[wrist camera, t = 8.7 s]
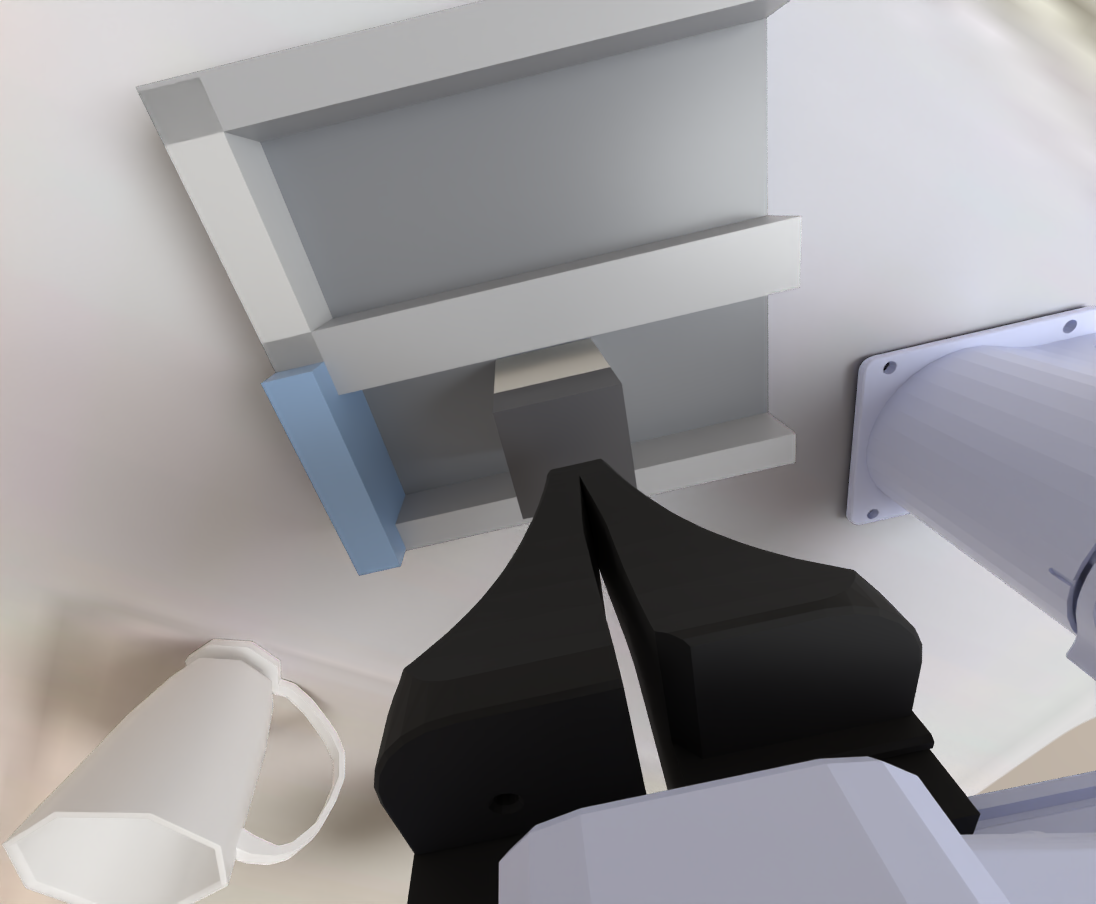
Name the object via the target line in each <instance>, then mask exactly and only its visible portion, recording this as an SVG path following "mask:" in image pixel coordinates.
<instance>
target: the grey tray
mask: <svg viewBox="0 0 1096 904" xmlns="http://www.w3.org/2000/svg"><path fill="white" fill-rule="evenodd" d="M789 1H790V0H482V1H478V2H474V3H470V4H466V5H462V6H458V7H454V8H450V9H446V10H442V11H438V12H434V13H430V14H426V15H422V16H418V17H414V18H410V19H406V20H402V21H398V22H394V23H390V24H386V25H382V26H378V27H374V28H370V29H366V30H362V31H358V32H354V33H350V34H346V35H342V36H338V37H334V38H330V39H326V40H322V41H318V42H314V43H310V44H306V45H302V46H298V47H294V48H290V49H286V50H282V51H278V52H274V53H270V54H266V55H262V56H258V57H254V58H250V59H246V60H242V61H238V62H234V63H230V64H226V65H222V66H218V67H214V68H209V69H205V70H201V71H197V72H193V73H189V74H185V75H181V76H177V77H173V78H169V79H165V80H161V81H157V82H153V83H149V84H145V85H141V86H137V87H136V89H137V91H138V93H139V95H140V97H141V99H142V101H143V103H144V105H145V107H146V109H147V111H148V113H149V116H150V118H151V120H152V122H153V124H154V126H155V128H156V130H157V132H158V134H159V136H160V138H161V140H162V142H163V144H164V146H165V148H166V150H167V152H168V154H169V156H170V158H171V160H172V162H173V164H174V166H175V169H176V171H177V173H178V175H179V177H180V179H181V181H182V183H183V185H184V187H185V189H186V191H187V193H188V195H189V197H190V199H191V201H192V203H193V205H194V207H195V209H196V211H197V213H198V215H199V217H200V219H201V222H202V224H203V226H204V228H205V230H206V232H207V234H208V236H209V238H210V240H211V242H212V244H213V246H214V248H215V250H216V252H217V254H218V256H219V258H220V260H221V262H222V264H223V266H224V268H225V270H226V272H227V275H228V277H229V279H230V281H231V283H232V285H233V287H234V289H235V291H236V293H237V295H238V297H239V299H240V301H241V303H242V305H243V307H244V309H245V311H246V313H247V315H248V317H249V319H250V321H251V323H252V325H253V328H254V330H255V332H256V334H257V336H258V338H259V340H260V342H261V344H262V346H263V348H264V350H265V352H266V354H267V356H268V358H269V360H270V362H271V364H272V366H273V368H274V370H275V372H276V373H275V374H273V375H272V376H270V377H269V378H268V379H266V380H265V381H263V382H262V383H261V385H262V387H263V389H264V391H265V393H266V395H267V396H268V398H269V400H270V402H271V404H272V406H273V408H274V410H275V412H276V414H277V416H278V418H279V420H280V422H281V424H282V426H283V428H284V430H285V432H286V434H287V436H288V438H289V440H290V442H291V443H292V445H293V447H294V449H295V451H296V453H297V455H298V457H299V459H300V461H301V463H302V465H303V467H304V469H305V471H306V473H307V475H308V477H309V479H310V481H311V483H312V485H313V487H314V489H315V490H316V492H317V494H318V496H319V498H320V500H321V502H322V504H323V506H324V508H325V510H326V512H327V514H328V516H329V518H330V520H331V522H332V524H333V526H334V528H335V530H336V532H337V534H338V535H339V537H340V539H341V541H342V543H343V545H344V547H345V549H346V551H347V553H348V555H349V557H350V559H351V561H352V563H353V565H354V567H355V569H356V571H357V573H358V575H359V576H360V575H365V574H369V573H373V572H378V571H382V570H387V569H391V568H396V567H400V566H401V564H402V560H403V557H404V553H405V551H407V550H412V549H416V548H421V547H425V546H429V545H434V544H438V543H443V542H447V541H452V540H456V539H460V538H465V537H469V536H474V535H478V534H483V533H487V532H491V531H496V530H500V529H505V528H509V527H514V526H518V525H522V524H527V523H531V522H532V519H533V517H532V518H527V519H523V518H522V514H521V511H520V507H519V504H518V500H517V497H516V493H515V490H514V486H513V483H512V479H511V476H510V472H509V468H508V465H507V461H506V458H505V454H504V451H503V447H502V444H501V440H500V437H499V433H498V430H497V426H496V423H495V419H494V415H493V401H494V381H495V362H496V360H498V359H502V358H507V357H511V356H515V355H520V354H524V353H529V352H533V351H537V350H542V349H546V348H550V347H555V346H559V345H563V344H568V343H572V342H576V341H581V340H585V339H590V338H591V340H592V341H593V343H594V344H595V345H596V347H597V348H598V350H599V351H600V353H601V354H602V356H603V357H604V359H605V360H606V361H607V363H608V364H609V366H610V367H611V369H612V370H613V372H614V373H615V374H616V376H617V377H618V379H619V380H620V382H621V383H622V388H623V395H624V401H625V408H626V415H627V422H628V429H629V436H630V443H631V450H632V456H633V463H634V470H635V477H636V484H637V489H638V490H639V491H641V492H642V493H643V494H645V495H646V496H651V495H655V494H660V493H664V492H668V491H673V490H677V489H682V488H686V487H691V486H695V485H699V484H704V483H708V482H713V481H717V480H722V479H726V478H730V477H735V476H739V475H744V474H748V473H753V472H757V471H761V470H766V469H770V468H775V467H779V466H784V465H788V464H792V463H795V459H796V433H795V432H794V431H792V430H791V429H790V428H788V427H787V426H786V425H784V424H783V423H782V422H780V421H779V420H778V419H776V418H775V417H774V416H772V415H771V414H770V413H768V295H770V294H775V293H779V292H783V291H787V290H792V289H796V288H800V267H801V228H802V216H772V215H768V197H767V17H769V16H770V15H771V14H773V13H774V12H775V11H777V10H778V9H779V8H781V7H782V6H783V5H785V4H786V3H787V2H789Z"/></svg>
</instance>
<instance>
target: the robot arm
mask: <svg viewBox="0 0 1096 904" xmlns="http://www.w3.org/2000/svg"><path fill="white" fill-rule="evenodd" d="M1064 325H1065V326H1064ZM888 362H889V366H888V368H887V369H886V370H884V371H883V368H884V366H885V365H886V364H887V363H888ZM871 510H872V511H871ZM869 511H871V512H870V513H868V512H869ZM906 514H912V515H914V516H915V517H916V518H918V519H919V520H920V521H922V522H923V523H924V524H926V525H927V526H928V527H930V528H931V529H932V530H934V531H935V532H937V533H938V534H939V535H941V536H942V537H943V538H945V539H946V540H947V541H949V542H950V543H951V544H953V545H954V546H955V547H957V548H958V549H960V550H961V551H962V552H964V553H965V554H966V555H968V556H969V557H970V558H972V559H973V560H974V561H976V562H977V563H978V564H980V565H981V566H982V567H984V568H985V569H987V570H988V571H989V572H991V573H992V574H993V575H995V576H996V577H997V578H999V579H1000V580H1001V581H1003V582H1004V583H1005V584H1007V585H1008V586H1010V587H1011V588H1012V589H1014V590H1015V591H1016V592H1018V593H1019V594H1020V595H1022V596H1023V597H1024V598H1026V599H1027V600H1028V601H1030V602H1031V603H1033V604H1034V605H1035V606H1037V607H1038V608H1039V609H1041V610H1042V611H1043V612H1045V613H1046V614H1047V615H1049V616H1050V617H1051V618H1053V619H1054V620H1055V621H1057V622H1058V623H1060V624H1061V625H1062V626H1064V627H1065V628H1066V629H1068V630H1069V631H1070V632H1072V633H1073V634H1074V635H1076V638H1075V641H1074V643H1073V645H1072V646H1071V648H1070V649H1069V651H1068V652H1067V654H1066V657H1067V658H1068V659H1069V660H1070V661H1072V662H1073V663H1074V664H1075V665H1077V666H1078V667H1079V668H1080V669H1082V670H1083V671H1084V672H1086V673H1087V674H1088V675H1089V676H1091V677H1092V678H1093V679H1094V680H1096V306H1088V307H1083V308H1079V309H1075V310H1070V311H1066V312H1062V313H1057V314H1053V315H1049V316H1044V317H1040V318H1035V319H1031V320H1027V321H1022V322H1018V323H1014V324H1009V325H1005V326H1001V327H996V328H992V329H988V330H983V331H979V332H975V333H970V334H966V335H962V336H957V337H953V338H948V339H944V340H940V341H935V342H931V343H927V344H922V345H918V346H914V347H909V348H905V349H901V350H896V351H892V352H888V353H883V354H879V355H875V356H871V357H869V358H867V359H866V360H864V361H863V362H862V364H861V365H860V368H859V372H858V384H857V396H856V407H855V419H854V430H853V442H852V454H851V465H850V477H849V488H848V500H847V512H846V516H847V519H848V520H849V521H850V522H851V523H853V524H855V525H861V524H866V523H870V522H875V521H879V520H884V519H888V518H893V517H897V516H902V515H906ZM599 570H600V572H601V575H602V578H603V580H604V583H605V586H606V588H607V591H608V594H609V596H610V599H611V602H612V604H613V607H614V610H615V612H616V615H617V618H618V620H619V623H620V626H621V628H622V631H623V634H624V636H625V639H626V642H627V644H628V647H629V650H630V653H631V656H632V659H633V662H634V666H635V669H636V673H637V677H638V680H639V684H640V688H641V692H642V695H643V699H644V703H645V706H646V710H647V714H648V718H649V721H650V725H651V729H652V733H653V736H654V740H655V744H656V748H657V751H658V755H659V759H660V763H661V767H662V770H663V774H664V778H665V782H666V786H667V789H668V790H666V791H662V792H657V793H652V794H647V795H646V791H645V786H644V781H643V777H642V772H641V767H640V762H639V758H638V753H637V748H636V744H635V739H634V734H633V729H632V725H631V720H630V715H629V711H628V706H627V701H626V697H625V692H624V687H623V683H622V679H621V675H620V670H619V666H618V662H617V658H616V654H615V650H614V646H613V643H612V639H611V635H610V632H609V628H608V624H607V621H606V616H605V609H604V601H603V594H602V587H601V580H600V572H599ZM921 664H922V643H921V641H920V639H919V636H918V634H917V632H916V630H915V628H914V627H913V626H912V625H911V624H910V623H909V622H908V621H907V620H906V619H905V618H904V617H903V616H902V615H901V614H900V613H899V612H898V611H897V610H896V608H895V607H894V606H893V605H892V604H891V603H890V602H889V601H888V600H887V599H886V598H885V597H884V596H883V595H882V594H881V593H880V592H879V591H877V590H876V589H875V588H874V587H873V586H872V585H870V584H869V583H868V582H867V581H866V580H865V579H863V578H862V577H861V576H860V575H859V574H858V573H857V572H856V571H854V570H851V569H846V568H841V567H835V566H830V565H825V564H820V563H815V562H810V561H805V560H800V559H795V558H791V557H787V556H784V555H780V554H776V553H773V552H769V551H765V550H762V549H758V548H755V547H752V546H749V545H746V544H743V543H740V542H737V541H735V540H732V539H729V538H727V537H724V536H721V535H719V534H716V533H713V532H711V531H709V530H706V529H704V528H702V527H700V526H698V525H696V524H694V523H692V522H689V521H687V520H685V519H683V518H681V517H679V516H677V515H676V514H674V513H672V512H670V511H669V510H667V509H666V508H664V507H662V506H661V505H659V504H658V503H656V502H655V501H653V500H652V499H650V498H649V497H647V496H646V495H645V494H643V493H642V492H641V491H639V490H638V489H637V488H635V487H634V486H633V485H631V484H630V483H629V482H628V481H626V480H625V479H624V478H623V477H622V476H621V475H619V474H618V473H617V472H616V471H615V470H614V469H613V468H612V467H611V466H610V465H609V464H608V463H607V462H605V461H604V460H602V459H596V460H592V461H587V462H583V463H579V464H574V465H570V466H565V467H561V468H556V469H552V470H550V471H549V473H548V474H547V478H546V483H545V487H544V490H543V493H542V496H541V499H540V502H539V505H538V507H537V510H536V512H535V515H534V517H533V519H532V522H531V524H530V526H529V528H528V530H527V532H526V534H525V536H524V538H523V540H522V542H521V543H520V545H519V547H518V549H517V550H516V552H515V554H514V555H513V557H512V559H511V560H510V562H509V563H508V565H507V566H506V568H505V569H504V571H503V572H502V573H501V575H500V576H499V577H498V579H497V580H496V581H495V583H494V584H493V585H492V586H491V588H490V589H489V590H488V591H487V593H486V594H485V595H484V596H483V597H482V599H481V600H480V601H479V602H478V603H477V604H476V605H475V606H474V607H473V608H472V609H471V610H470V611H469V612H468V613H467V614H466V615H465V616H464V617H463V618H462V619H461V620H460V621H459V622H458V623H457V624H456V625H455V626H454V627H453V628H452V629H451V630H450V631H449V632H448V633H447V634H445V635H444V636H443V637H442V638H441V639H440V640H438V641H437V642H436V643H435V644H434V645H432V646H431V647H430V648H429V649H428V650H426V651H425V652H424V653H423V654H422V655H420V656H419V657H418V658H417V659H416V660H414V661H413V662H412V663H411V664H409V665H408V666H407V667H405V668H404V670H403V672H402V676H401V679H400V681H399V684H398V687H397V690H396V692H395V695H394V697H393V700H392V704H391V707H390V710H389V713H388V716H387V720H386V724H385V729H384V733H383V737H382V741H381V746H380V750H379V754H378V758H377V763H376V767H375V777H374V788H375V791H376V793H377V795H378V798H379V800H380V803H381V804H382V806H383V807H384V809H385V810H386V812H387V813H388V815H389V816H390V818H391V819H392V821H393V822H394V824H395V825H396V827H397V828H398V830H399V831H400V833H401V834H402V836H403V837H404V839H405V840H406V842H407V843H408V845H409V846H410V848H411V849H412V851H413V852H414V860H413V867H412V874H411V881H410V888H409V895H408V902H407V904H1096V771H1092V772H1087V773H1082V774H1077V775H1072V776H1068V777H1062V778H1058V779H1053V780H1048V781H1043V782H1038V783H1033V784H1028V785H1024V786H1019V787H1014V788H1009V789H1004V790H999V791H994V792H989V793H985V794H979V795H974V796H969V797H967V796H966V795H965V793H964V792H963V791H962V790H961V788H960V787H959V786H958V785H957V783H956V782H955V781H954V779H953V778H952V777H951V776H950V774H949V773H948V772H947V771H946V769H945V768H944V767H943V766H942V764H941V763H940V762H939V760H938V759H937V758H936V757H935V755H934V754H933V753H932V752H931V750H930V749H931V748H933V745H934V740H933V737H932V735H931V733H930V732H929V731H928V730H927V728H926V727H925V726H924V725H923V723H922V722H921V721H920V720H919V719H918V717H917V716H916V715H915V714H914V712H913V711H912V708H913V703H914V698H915V693H916V688H917V683H918V678H919V674H920V669H921Z"/></svg>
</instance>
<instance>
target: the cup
mask: <svg viewBox="0 0 1096 904" xmlns="http://www.w3.org/2000/svg"><path fill="white" fill-rule="evenodd" d="M185 664H186V667H185V668H183V669H181V670H180V671H178V672H177V673H175V674H174V675H172V676H171V677H170V678H169V679H168V680H166V681H165V682H164V683H163V684H162V685H161V686H160V687H158V688H157V689H156V690H155V691H154V692H153V693H152V694H151V695H149V696H148V697H147V698H146V699H145V700H144V701H143V702H141V703H140V704H139V705H138V706H137V707H136V708H135V709H133V710H132V711H131V712H130V713H129V714H128V715H127V716H126V717H125V718H124V719H123V720H122V721H121V722H120V723H119V724H118V725H117V726H116V727H115V728H114V729H113V730H112V731H111V732H110V733H109V734H108V736H107V737H106V738H105V739H104V740H103V741H102V742H101V743H100V744H99V745H98V746H97V747H96V748H95V749H94V750H93V751H92V752H91V753H90V754H89V755H88V756H87V758H86V759H85V760H84V761H83V762H82V763H81V764H80V765H79V766H78V767H77V768H76V769H75V770H74V771H73V772H72V773H71V774H70V775H69V776H68V777H67V778H66V779H65V780H64V781H63V782H62V783H61V784H60V785H59V786H58V787H57V788H56V789H55V790H54V791H53V792H52V793H51V794H50V795H49V796H48V797H47V798H46V799H45V800H44V801H43V802H42V803H41V804H40V805H39V806H38V808H37V809H36V810H35V811H34V812H33V813H32V814H31V815H30V816H29V817H28V818H27V819H26V820H25V821H24V822H23V823H22V824H21V825H20V826H19V827H18V828H17V829H16V830H15V831H14V832H13V834H12V835H11V836H10V837H9V838H8V839H7V840H6V841H5V842H4V843H3V844H2V845H3V847H4V849H5V851H6V853H7V855H8V857H9V859H10V860H11V862H12V864H13V866H14V868H15V870H16V872H17V874H18V875H19V877H20V879H21V881H22V883H23V885H24V887H25V888H27V889H29V890H32V891H35V892H38V893H41V894H43V895H46V896H49V897H52V898H55V899H58V900H60V901H63V902H66V903H69V904H193V903H195V902H197V901H199V900H201V899H203V898H205V897H207V896H209V895H211V894H213V893H215V892H217V891H219V890H220V889H222V888H224V887H226V886H228V884H229V880H230V877H231V873H232V870H233V866H234V863H235V860H238V861H240V862H243V863H247V864H261V865H271V864H275V863H279V862H283V861H286V860H288V859H290V858H291V857H292V856H293V855H294V854H296V853H297V852H298V851H299V850H301V849H302V848H303V847H304V846H305V845H307V844H308V843H309V842H310V841H311V840H313V838H314V837H315V836H316V834H317V833H318V832H319V830H320V829H321V827H322V825H323V823H324V822H325V820H326V818H327V817H328V815H329V813H330V811H331V810H332V808H333V806H334V804H335V803H336V800H337V798H338V795H339V792H340V789H341V787H342V784H343V781H344V779H345V751H344V748H343V746H342V743H341V741H340V738H339V736H338V733H337V732H336V730H335V729H334V727H333V726H332V724H331V723H330V722H329V720H328V719H327V717H326V716H325V715H324V713H323V712H322V711H321V709H320V708H319V707H318V706H317V704H316V703H315V702H314V700H313V699H312V698H311V697H310V696H308V695H307V694H306V693H305V692H304V691H303V690H302V689H301V688H299V687H298V686H297V685H296V684H295V683H292V682H289V681H286V680H283V679H281V666H280V660H279V659H277V658H276V657H274V656H273V655H272V654H270V653H269V652H267V651H266V650H264V649H263V648H261V647H260V646H259V645H257V644H256V643H254V642H253V641H241V640H226V639H213V640H211V641H210V642H208V643H207V644H205V645H204V646H202V647H201V648H199V649H198V650H196V651H195V652H193V653H192V654H190V655H189V656H188V658H187V659H186V661H185ZM273 694H276V695H279V696H283V697H286V698H287V699H288V700H289V701H290V702H292V703H293V704H294V705H295V706H296V707H297V708H298V709H299V710H300V711H302V712H303V714H304V715H305V716H306V718H307V719H308V720H309V722H310V723H311V725H312V726H313V727H314V729H315V730H316V732H317V733H318V734H319V736H320V737H321V739H322V740H323V742H324V744H325V746H326V748H327V750H328V752H329V754H330V757H331V759H332V761H333V785H332V788H331V790H330V793H329V795H328V798H327V800H326V803H325V805H324V807H323V809H322V811H321V813H320V814H319V816H318V818H317V820H316V821H315V823H314V825H313V826H312V827H310V828H309V829H308V830H307V831H305V832H304V833H303V834H302V835H300V836H299V837H298V838H297V839H295V840H294V841H293V842H292V843H287V844H283V845H279V846H278V845H275V844H273V843H271V842H269V841H266V840H264V839H262V838H260V837H257V836H255V835H254V834H252V833H250V832H249V831H247V830H246V829H244V826H245V823H246V819H247V815H248V811H249V808H250V804H251V801H252V797H253V794H254V791H255V787H256V784H257V780H258V777H259V773H260V770H261V766H262V763H263V760H264V756H265V753H266V747H267V741H268V735H269V730H270V724H271V718H272V712H273Z"/></svg>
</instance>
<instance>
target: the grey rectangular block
mask: <svg viewBox="0 0 1096 904" xmlns="http://www.w3.org/2000/svg"><path fill="white" fill-rule="evenodd" d="M493 415H494V419H495V423H496V426H497V430H498V433H499V437H500V440H501V444H502V447H503V451H504V454H505V458H506V461H507V465H508V468H509V472H510V476H511V479H512V483H513V486H514V490H515V493H516V497H517V500H518V504H519V507H520V511H521V514H522V518H523V519H527V518H532V517H534V515H535V512H536V510H537V507H538V505H539V502H540V499H541V496H542V493H543V490H544V487H545V483H546V478H547V474H548V473H549V471H550V470H552V469H556V468H561V467H565V466H570V465H574V464H579V463H583V462H587V461H592V460H596V459H602V460H604V461H605V462H607V463H608V464H609V465H610V466H611V467H612V468H613V469H614V470H615V471H616V472H617V473H618V474H619V475H621V476H622V477H623V478H624V479H625V480H626V481H628V482H629V483H630V484H631V485H633V486H634V487H635V488H637V484H636V477H635V470H634V463H633V456H632V450H631V443H630V436H629V429H628V422H627V415H626V408H625V401H624V395H623V388H622V383H621V382H620V380H619V379H618V377H617V376H616V374H615V373H614V372H613V370H612V369H611V367H610V366H609V364H608V363H607V361H606V360H605V359H604V357H603V356H602V354H601V353H600V351H599V350H598V348H597V347H596V345H595V344H594V343H593V341H592V340H591V338H590V339H585V340H581V341H576V342H572V343H568V344H563V345H559V346H555V347H550V348H546V349H542V350H537V351H533V352H529V353H524V354H520V355H515V356H511V357H507V358H502V359H498V360H496V362H495V381H494V401H493Z"/></svg>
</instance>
